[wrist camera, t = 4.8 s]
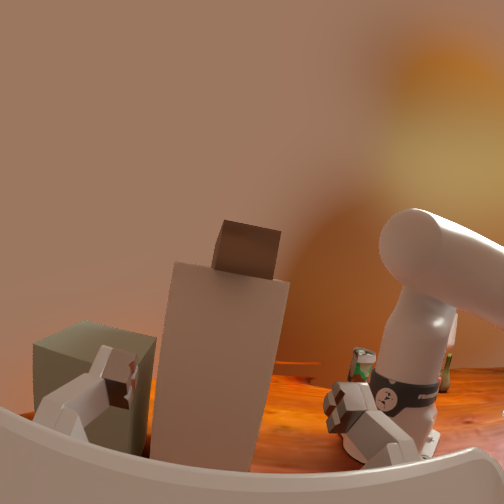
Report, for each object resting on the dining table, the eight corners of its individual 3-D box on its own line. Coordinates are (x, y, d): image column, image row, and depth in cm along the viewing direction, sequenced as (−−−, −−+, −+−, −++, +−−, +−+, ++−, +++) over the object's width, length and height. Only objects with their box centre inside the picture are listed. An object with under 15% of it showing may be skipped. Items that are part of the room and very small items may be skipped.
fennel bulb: (439, 387, 80) (449, 352, 80) (451, 391, 75) (461, 355, 76) (430, 389, 78) (440, 352, 78) (441, 394, 73) (452, 356, 74)
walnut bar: (272, 280, 19) (281, 231, 19) (214, 269, 18) (224, 219, 19) (238, 272, 40) (242, 248, 40) (211, 267, 39) (215, 243, 39)
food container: (371, 393, 73) (380, 358, 74) (349, 390, 75) (358, 355, 76) (366, 380, 85) (373, 349, 86) (346, 377, 87) (354, 346, 87)
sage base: (127, 501, 23) (132, 373, 24) (42, 473, 21) (33, 343, 22) (146, 440, 36) (156, 337, 37) (80, 423, 35) (85, 320, 36)
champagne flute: (446, 377, 92) (461, 314, 94) (443, 381, 87) (459, 314, 89) (431, 374, 97) (445, 311, 99) (427, 377, 92) (442, 311, 94)
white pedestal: (239, 509, 26) (290, 282, 27) (147, 497, 24) (174, 261, 26) (228, 445, 40) (261, 276, 42) (161, 435, 39) (186, 262, 41)
